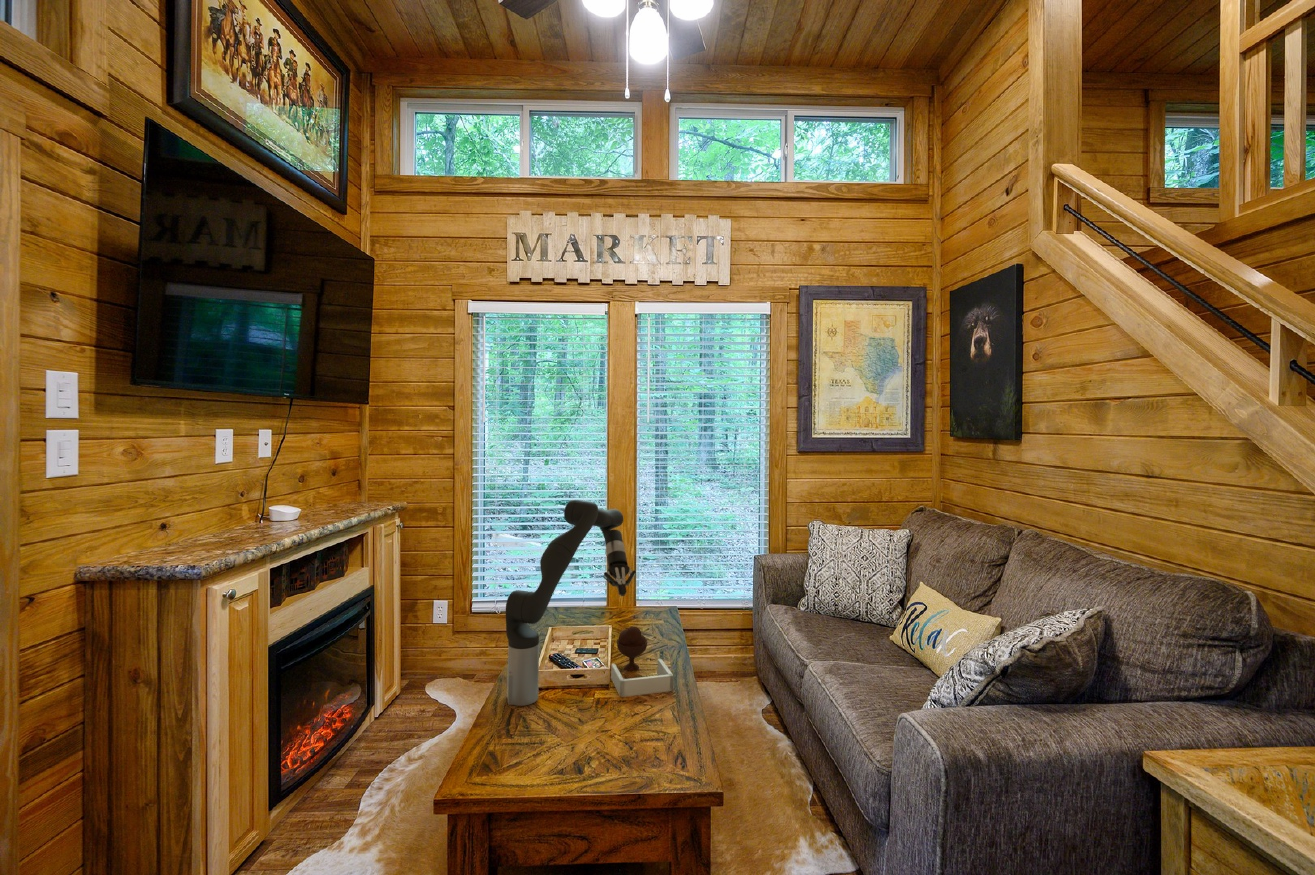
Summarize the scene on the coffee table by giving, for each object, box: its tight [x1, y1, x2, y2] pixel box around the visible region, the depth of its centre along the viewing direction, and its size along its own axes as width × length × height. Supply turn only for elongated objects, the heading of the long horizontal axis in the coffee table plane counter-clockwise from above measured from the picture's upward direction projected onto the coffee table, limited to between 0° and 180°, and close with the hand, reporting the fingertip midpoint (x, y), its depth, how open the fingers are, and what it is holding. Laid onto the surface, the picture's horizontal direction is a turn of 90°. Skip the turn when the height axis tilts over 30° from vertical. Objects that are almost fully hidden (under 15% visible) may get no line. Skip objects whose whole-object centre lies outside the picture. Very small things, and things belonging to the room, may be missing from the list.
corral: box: [610, 658, 675, 698], centre depth 192 cm, size 17×14×5 cm
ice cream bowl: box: [616, 625, 648, 673], centre depth 205 cm, size 11×11×15 cm
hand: (623, 595), depth 219 cm, fingers closed
